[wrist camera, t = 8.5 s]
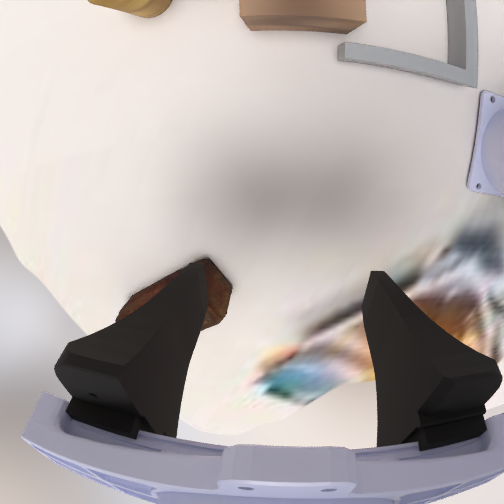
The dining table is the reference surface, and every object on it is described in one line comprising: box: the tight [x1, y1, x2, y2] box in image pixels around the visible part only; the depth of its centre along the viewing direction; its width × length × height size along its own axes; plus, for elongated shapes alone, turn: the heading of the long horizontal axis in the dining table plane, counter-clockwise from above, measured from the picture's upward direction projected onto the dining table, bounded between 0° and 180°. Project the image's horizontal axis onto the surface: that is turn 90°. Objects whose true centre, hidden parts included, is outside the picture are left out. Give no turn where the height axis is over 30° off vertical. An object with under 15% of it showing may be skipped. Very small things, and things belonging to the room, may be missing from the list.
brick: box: [115, 259, 232, 331], centre depth 26 cm, size 11×4×5 cm, turn 124°
